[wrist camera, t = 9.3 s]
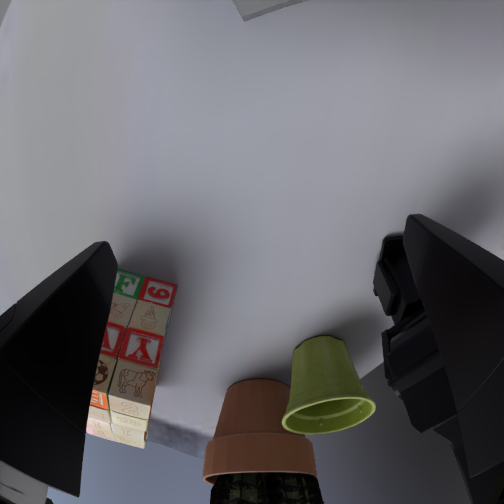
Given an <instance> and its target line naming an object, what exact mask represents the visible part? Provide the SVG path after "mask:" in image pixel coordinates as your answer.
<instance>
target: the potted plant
mask: <svg viewBox="0 0 504 504" xmlns="http://www.w3.org/2000/svg"><path fill="white" fill-rule="evenodd" d="M289 399H290V389H289V388H288V386H286V385H284V384H283V383H281V382H278V381H274V380H268V379H250V380H245V381H241V382H238V383H236V384H233V385H232V386H231V387H229V388H228V389H227V392H226V395H225V399H224V402H223V406H222V409H221V413H220V416H219V420H218V424H217V427H216V431H215V434H214V438H213V440H212V441H210V442H208V444H207V446H206V453H205V461H204V469H203V478H202V479H203V480H204V481H205V482H206V483H209V484H212V485H214V486H213V487H212V489H211V499H210V504H323V503H324V502H323V500H322V496H321V492H320V491H321V490H320V488H319V483H318V480H317V478H316V477H317V472H316V466H315V459H314V452H313V445H312V442H311V441H309V439H307V438H306V437H305V434H299V433H294V432H291V431H289V430H287V429H285V428H284V427H283V425H282V418H283V416H284V415H285V414H286V409H287V405H288V403H289Z"/></svg>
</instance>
